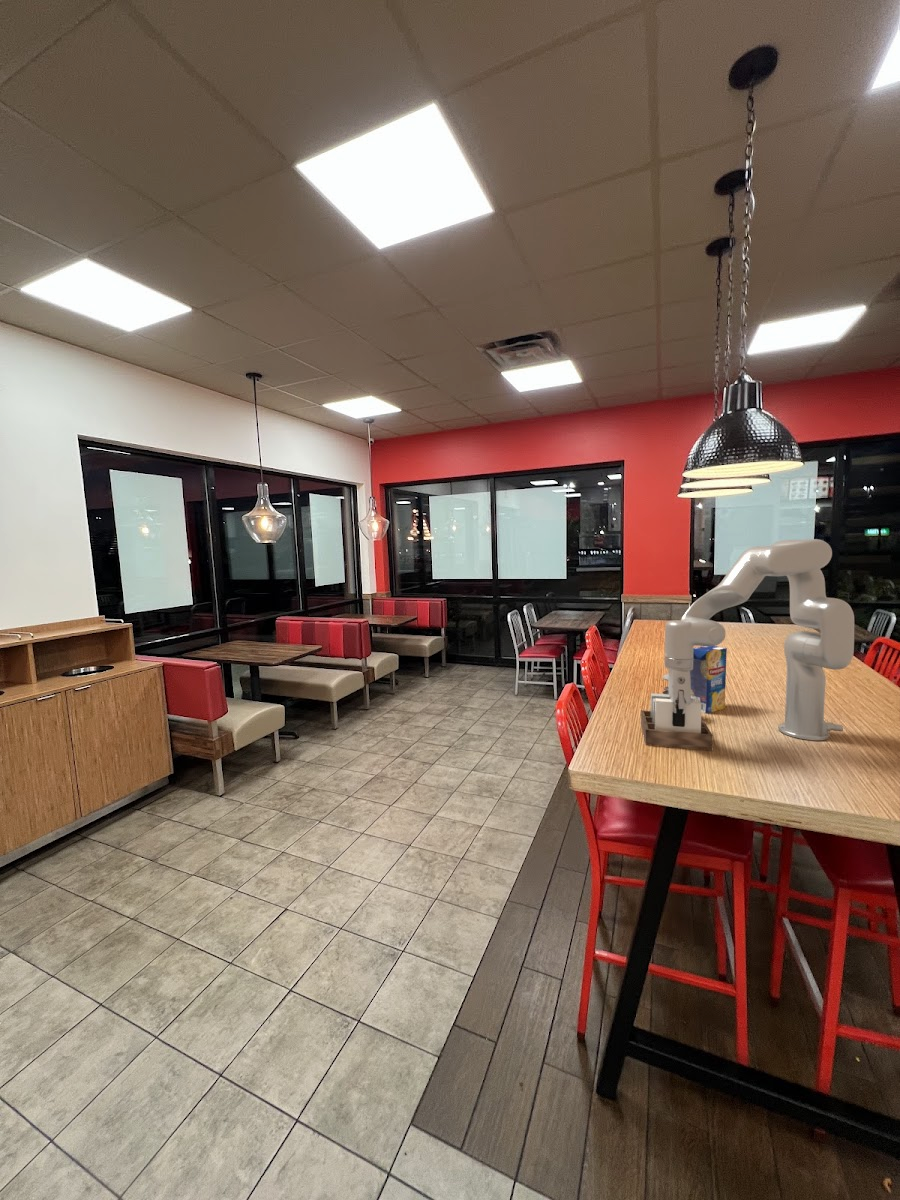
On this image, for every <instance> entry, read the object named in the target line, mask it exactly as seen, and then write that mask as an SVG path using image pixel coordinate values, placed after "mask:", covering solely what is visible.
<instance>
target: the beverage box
mask: <svg viewBox="0 0 900 1200" xmlns="http://www.w3.org/2000/svg"><path fill="white" fill-rule="evenodd" d="M727 649H728V648H727V647H722V646H718V645H716V646H697V647H693V669H692V670H690V681H691V696H692V697H693V698H694V699H693V701H700V702H701V713H703V714H710V713H713V712H717V711H720V710H723V709H725V708H726V680H727V679H726V678H727V653H728V652H727Z"/></svg>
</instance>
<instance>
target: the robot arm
mask: <svg viewBox="0 0 900 1200" xmlns="http://www.w3.org/2000/svg"><path fill="white" fill-rule="evenodd" d="M832 557H833V550H832V547H831V545H830V544H829V543H827V542H826V541H824V540H823V539H818V538H815V539H814V538H813V539H811V538H809V539H808V538H806V539H785V540H779V541H775V542H774V543H772V544H771V545H763V546H762V545H760V546H751V547H749V548H746V549H745V550H744V551H743V552H742V553H741V554H740V556H739V557H738V559H736V561H735V562H734V564H733V565H732V567H731V568H730V569H729V570H728V571H727V573H726V574H725V576H724V577H723V579H722V580H721V581H720V583H718V585H716V586H715V587H713V588H712V589H711V590H708V591H707V592H706V593H704V594H703V595H702V596H700V597H699V598H697V599H696V600H695V601H694V602H693V603H692V604H690V606H689V607H688V608H687V610H686V611H685V613H684V614H683V615H682V616H681V618H680V619H679V620H677V619H676V620H674V619H673V620H669V621H667V622H666V623H665V626H664V669H667V670H668V673H667V674H668V683H667V685H668V686H667V687H668V691H669V697H670V699H671V701H672V702H673V703H674V712H673V721H672V725H673V726H678V727H684V726H685V701H686V703H687V704H688V705H690V704H691V681H690V670H692V669H693V648H695V647H694V646H697V647H701V646H718V645H720V644H722V643H723V642H724V640H725V638H726V635H727V634H726V630H725V628H724V626H723V625H722V624H721V623H719V622H717V621H715V620H712V619H711V618H712V617H713V616H715V615H716V614H717V613H720V612H721V611H724V610H726V609H728V608H729V609H730V608H732V607H735V606H738V605H741V604H744V603H745V602H747V601H748V600H749V599H750V597H751V596H752V594H753V593H754V591H756V589H757V588H758V586H759V585H760V584H761V583H762V581H763V580H764V579H765V577H786V578H787V580H788V582H789V584H788V585H789V615H790V616H789V617H790V620H791V622H792V623H793V624H794V625H796V626H800V627H803V628H808V629H814V630H817V631H818V630H820V632H814V631H811V630H810V631H809V630H797V631H793V632H791V633H789V635H788V636H786V638H785V640H784V643H783V651H784V657H785V663H786V686H785V703H784V704H785V705H784V706H785V707H784V708H785V709H784V722H782V723H780V724H778V727H777V728H778V731H779V732H781V733H782V734H784V735H787V736H789V737H792V738H797V739H800V740H807V741H824V740H828V739H829V738H830V733H829V732H831V731H834V732H843V731H844V727H843V725H842V724H835V723H834V722H828V721H827V722H826V720H824V716H825V715H824V714H825V699H826V698H825V697H826V683H827V682H826V680H827V679H826V673H825V671H824V669H828V670H836V671H837V670H843V669H845V668H847V667H848V666H849V665H850V664H851V662H852V660H853V657H854V652H855V650H854V649H855V615H854V611H853V609H852V607H851V605H850V604H849V603H848V602H846V601H845V600H843V599H840V598H835V597H827V595H826V581H825V577H824V574H823V571H822V570H821V569H823V568H824V567H825V566H827V565H828V564H829V563H830V561H831V559H832ZM676 701H678V702H676ZM676 705H678V706H677V707H676Z"/></svg>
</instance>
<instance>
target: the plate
mask: <svg viewBox="0 0 900 1200" xmlns="http://www.w3.org/2000/svg"><path fill="white" fill-rule="evenodd" d="M676 702H678V701H676ZM677 706H678V705H676V707H677ZM673 712H674V703H673V702H672V701H671V699H659V698H655V730H665V731H677V732H689V733H701V717H702V712H701V702H700V701H692V700H691V704H690V705H688V704H687V703H686V701H685V726H684V727H678V726H673V725H672V721H673Z"/></svg>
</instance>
